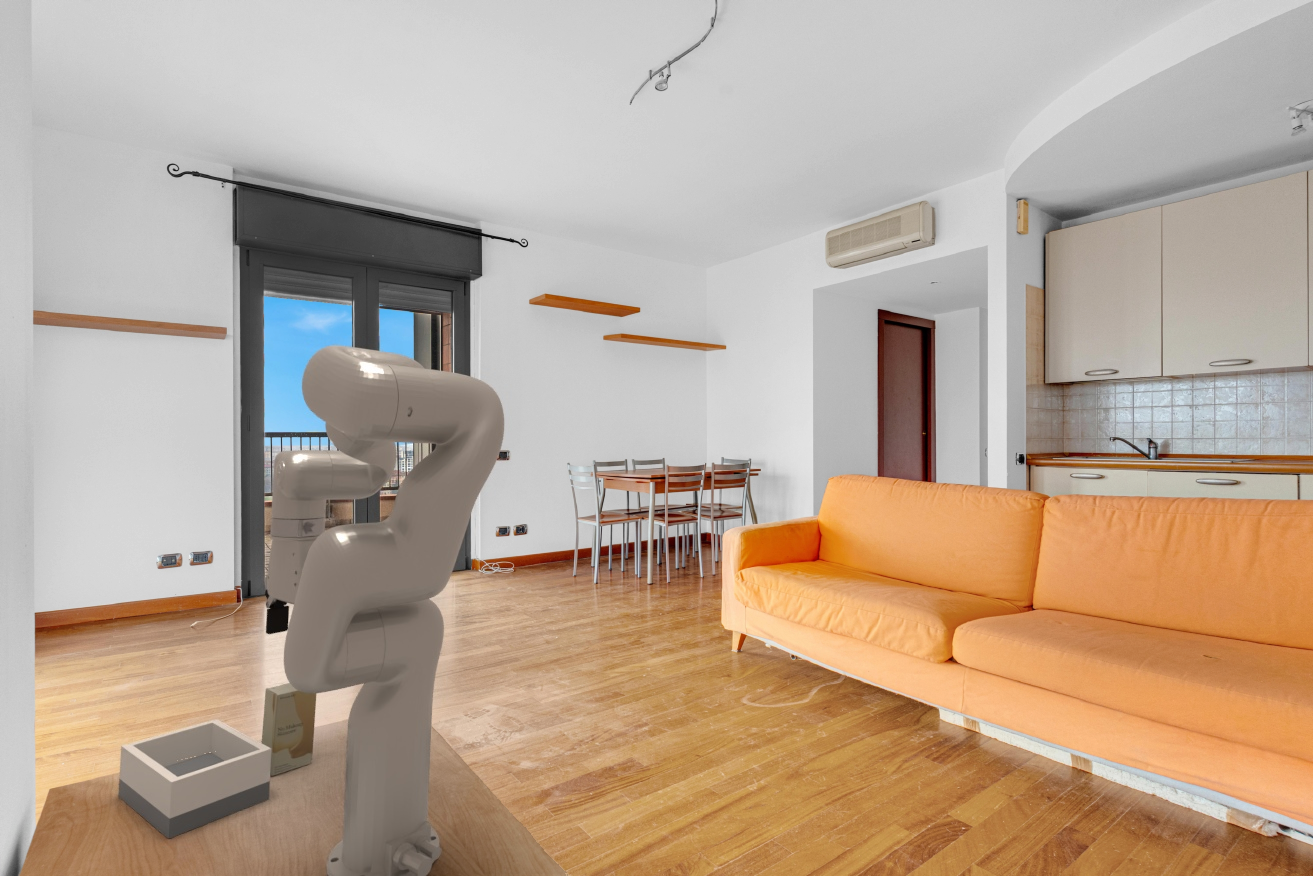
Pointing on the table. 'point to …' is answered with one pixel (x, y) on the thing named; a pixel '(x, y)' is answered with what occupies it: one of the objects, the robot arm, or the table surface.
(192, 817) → the box
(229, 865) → the table surface
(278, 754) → the skincare box
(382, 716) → the robot arm
